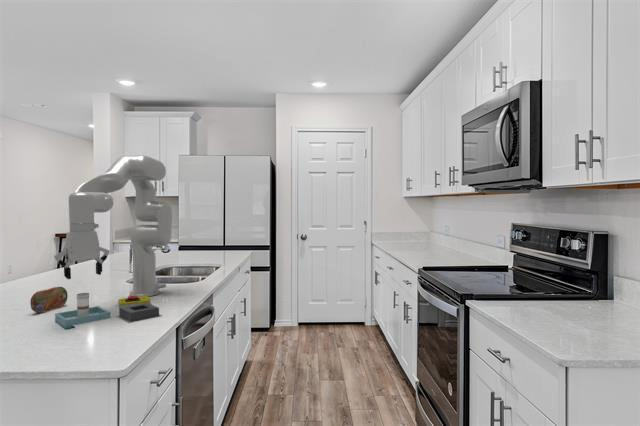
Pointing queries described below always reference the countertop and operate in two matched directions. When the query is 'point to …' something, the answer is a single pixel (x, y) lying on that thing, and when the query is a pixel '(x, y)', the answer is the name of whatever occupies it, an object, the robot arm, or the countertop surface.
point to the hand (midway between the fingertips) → (83, 276)
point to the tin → (48, 299)
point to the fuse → (82, 304)
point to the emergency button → (133, 301)
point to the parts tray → (69, 323)
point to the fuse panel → (138, 312)
